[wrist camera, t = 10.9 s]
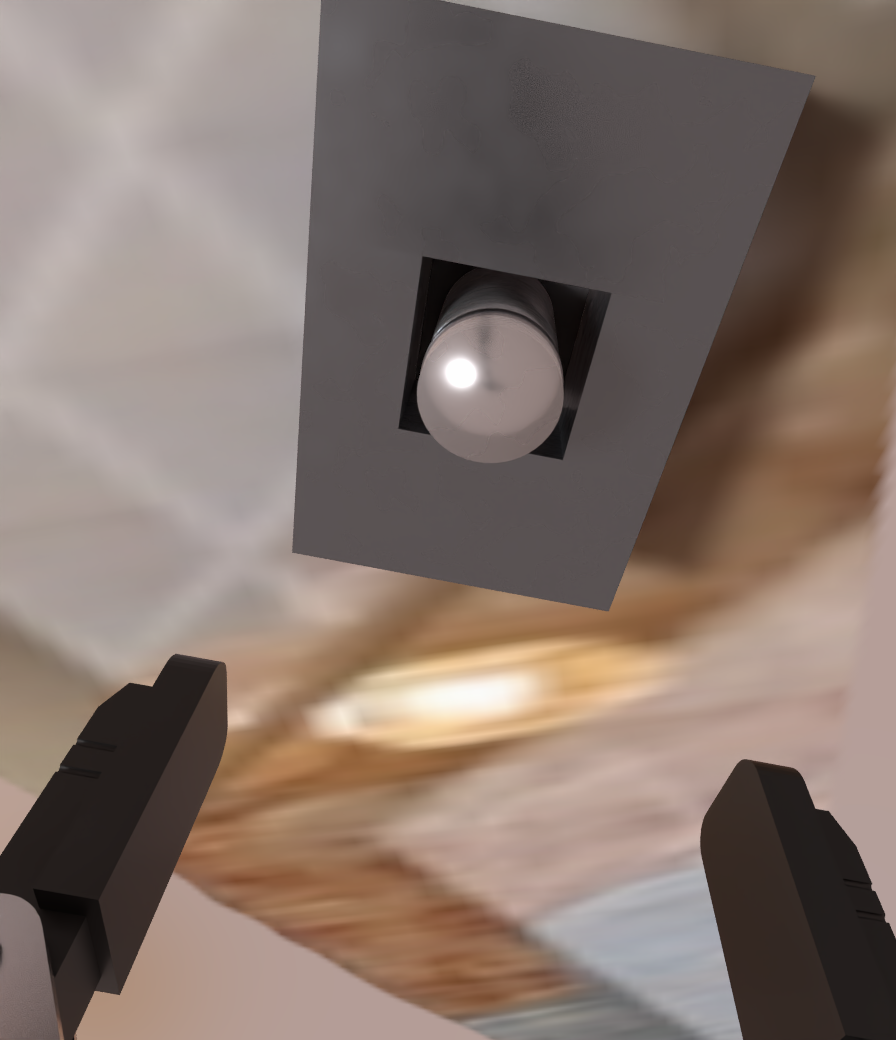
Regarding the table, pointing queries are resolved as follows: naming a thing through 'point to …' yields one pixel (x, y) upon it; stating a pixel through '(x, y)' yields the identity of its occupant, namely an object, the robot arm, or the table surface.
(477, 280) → the piston
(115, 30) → the table surface
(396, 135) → the grey block with hole
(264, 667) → the table surface
